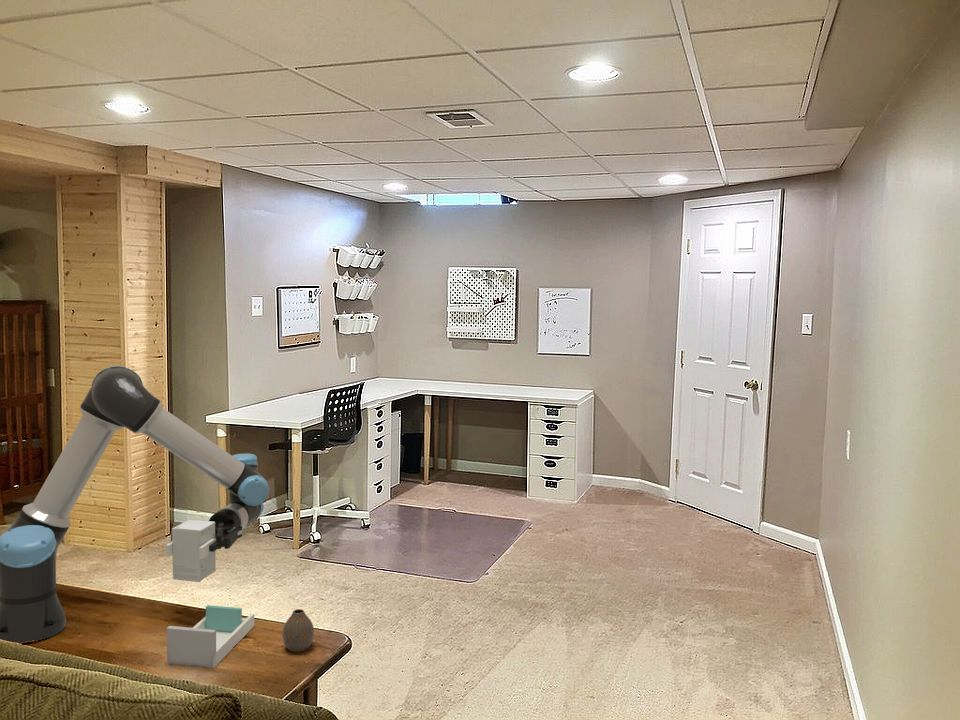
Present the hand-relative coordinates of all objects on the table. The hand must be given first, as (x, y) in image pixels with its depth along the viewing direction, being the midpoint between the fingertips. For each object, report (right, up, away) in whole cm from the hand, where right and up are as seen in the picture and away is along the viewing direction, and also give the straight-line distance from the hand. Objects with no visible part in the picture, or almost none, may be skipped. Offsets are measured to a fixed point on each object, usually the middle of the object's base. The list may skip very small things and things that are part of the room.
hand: (184, 552), depth 184 cm
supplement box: (0, -7, +6) cm, 9 cm away
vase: (+28, -21, -5) cm, 35 cm away
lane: (+8, -20, -4) cm, 22 cm away
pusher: (+9, -19, +2) cm, 21 cm away
